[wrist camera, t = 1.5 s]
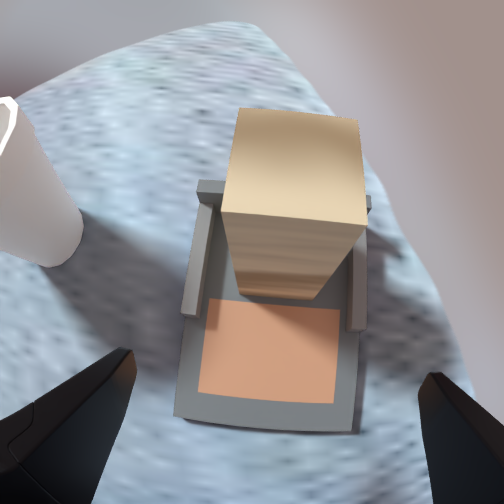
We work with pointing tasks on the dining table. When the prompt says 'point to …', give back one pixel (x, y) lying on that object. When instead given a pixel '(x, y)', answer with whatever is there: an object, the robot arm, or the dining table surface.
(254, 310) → the tray
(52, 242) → the foam cup
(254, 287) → the beech block
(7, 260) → the dining table surface
